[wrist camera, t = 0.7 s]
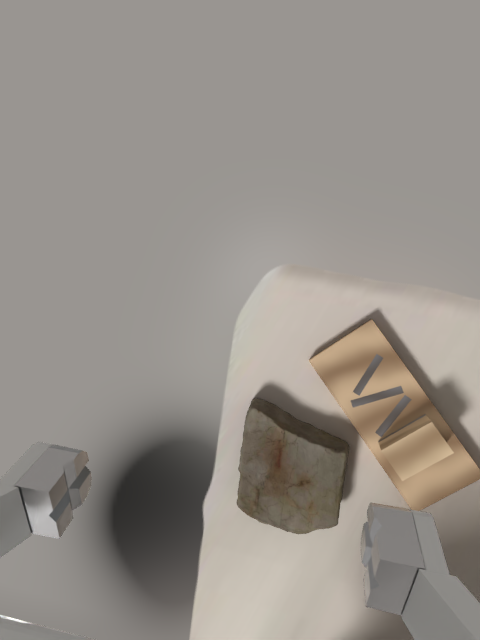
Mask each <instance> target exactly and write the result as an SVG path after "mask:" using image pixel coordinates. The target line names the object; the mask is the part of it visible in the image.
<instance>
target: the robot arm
mask: <svg viewBox="0 0 480 640" xmlns="http://www.w3.org/2000/svg"><path fill="white" fill-rule="evenodd" d="M88 461H89V459H88V454H87V452H85V451H82V450H77V449H73V448H68V447H63V446H59V445H53V444H48V443H43V442H37V443H35V444H33V445H32V446H31V447H30V448H29V449H28V450H27V451H26V452H25V453H24V454H23V456H22V457H21V458H20V459H19V460H18V461H17V462H16V463H15V464H14V465H13V466H12V467H11V468H10V469H9V470H8V471H7V472H6V474H5V475H4V476H3V477H2V478H1V479H0V558H1V557H2V556H4V555H5V554H6V553H8V552H9V551H10V550H12V549H13V548H15V547H16V546H17V545H19V544H20V543H22V542H23V541H24V540H26V539H27V538H29V537H30V536H31V535H32V534H37V535H42V536H48V537H53V538H59V539H60V537H61V536H62V534H63V533H64V531H65V530H66V528H67V527H68V525H69V524H70V522H71V521H72V519H73V510H74V509H76V508H77V507H79V506H81V505H82V504H83V502H84V501H85V499H86V497H87V495H88V493H89V490H90V487H91V480H92V477H91V471H90V470H89V469H88V468H87V467H86V466H85V465H86V464H87V462H88ZM367 518H368V522H366V523H364V526H363V530H362V537H361V558H362V563H363V565H364V566H365V567H366V571H365V575H364V579H363V582H364V592H365V603H366V607H369V608H373V609H377V610H381V611H385V612H389V613H393V614H397V615H401V616H402V617H401V618H402V620H403V621H404V623H405V625H406V626H407V628H408V630H409V631H410V633H411V635H412V636H413V638H414V640H480V603H479V601H478V600H477V599H476V598H475V597H474V596H473V595H472V593H471V592H470V591H469V590H468V589H467V588H466V587H465V585H464V584H463V583H462V582H461V581H460V580H459V579H458V577H457V576H452V575H450V573H449V569H448V566H447V562H446V559H445V556H444V552H443V549H442V545H441V542H440V538H439V535H438V531H437V528H436V525H435V521H434V518H433V516H432V515H431V513H427V512H421V511H416V510H409V509H406V508H400V507H394V506H388V505H382V504H376V503H370V504H369V506H368V510H367ZM31 533H32V534H31ZM0 640H95V639H92V638H88V637H84V636H80V635H76V634H72V633H68V632H64V631H61V630H57V629H53V628H49V627H45V626H41V625H38V624H34V623H30V622H26V621H22V620H18V619H14V618H10V617H7V616H3V615H0Z"/></svg>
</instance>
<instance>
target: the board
mask: <svg viewBox="0 0 480 640" xmlns="http://www.w3.org/2000/svg"><path fill="white" fill-rule="evenodd" d="M309 362H310V363H311V365H312V366H313V367H314V369H315V370H316V372H317V373H318V375H319V376H320V378H321V379H322V380H323V382H324V383H325V385H326V386H327V388H328V389H329V391H330V392H331V394H332V395H333V396H334V398H335V399H336V401H337V402H338V404H339V405H340V407H341V408H342V409H343V411H344V412H345V414H346V415H347V417H348V418H349V420H350V421H351V423H352V424H353V425H354V427H355V428H356V430H357V431H358V433H359V434H360V436H361V437H362V438H363V440H364V441H365V443H366V444H367V446H368V447H369V449H370V450H371V452H372V453H373V454H374V456H375V457H376V459H377V460H378V462H379V463H380V465H381V466H382V467H383V469H384V470H385V472H386V473H387V475H388V476H389V478H390V479H391V481H392V482H393V483H394V485H395V486H396V488H397V489H398V491H399V492H400V494H401V495H402V496H403V498H404V499H405V501H406V502H407V504H408V505H409V507H410V508H411V510H416V511H420V510H422V509H424V508H426V507H428V506H429V505H431V504H433V503H435V502H437V501H439V500H441V499H443V498H445V497H447V496H449V495H450V494H452V493H454V492H456V491H458V490H460V489H462V488H464V487H466V486H468V485H470V484H472V483H473V482H475V481H477V480H479V479H480V469H479V468H478V466H477V465H476V464H475V462H474V461H473V459H472V458H471V457H470V455H469V454H468V452H467V451H466V450H465V448H464V447H463V445H462V444H461V443H460V441H459V440H458V438H457V437H456V436H455V434H454V433H453V431H452V430H451V429H450V427H449V426H448V425H447V423H446V422H445V420H444V419H443V418H442V416H441V415H440V413H439V412H438V411H437V409H436V408H435V406H434V405H433V404H432V402H431V401H430V399H429V398H428V397H427V395H426V394H425V392H424V391H423V390H422V388H421V387H420V386H419V384H418V383H417V381H416V380H415V379H414V377H413V376H412V374H411V373H410V372H409V370H408V369H407V367H406V366H405V365H404V363H403V362H402V360H401V359H400V358H399V356H398V355H397V353H396V352H395V351H394V349H393V348H392V346H391V345H390V344H389V342H388V341H387V340H386V338H385V337H384V335H383V334H382V333H381V331H380V330H379V328H378V327H377V326H376V324H375V323H374V321H373V320H372V319H370V320H369V321H367V322H366V323H364V324H363V325H361V326H360V327H358V328H357V329H355V330H354V331H352V332H351V333H349V334H347V335H346V336H344V337H343V338H341V339H340V340H338V341H337V342H335V343H334V344H332V345H331V346H329V347H328V348H326V349H324V350H323V351H321V352H320V353H318V354H317V355H315V356H314V357H312V358H311V359H309ZM424 414H426V416H427V417H428V418H429V419H430V420H431V421H432V423H433V424H434V426H435V427H436V428H437V430H438V431H439V433H440V434H441V435H442V437H443V438H444V440H445V441H446V442H447V444H448V445H449V447H450V448H451V449H452V451H453V452H454V453H453V454H451V455H449V456H448V457H446V458H444V459H442V460H440V461H438V462H437V463H435V464H433V465H431V466H429V467H427V468H426V469H424V470H422V471H420V472H418V473H416V474H415V475H413V476H411V477H409V478H407V479H405V480H404V481H402V480H401V478H400V477H399V476H398V474H397V473H396V471H395V470H394V468H393V467H392V465H391V464H390V463H389V461H388V460H387V458H386V457H385V455H384V454H383V453H382V451H381V449H380V446H379V443H378V441H379V440H381V439H383V438H384V437H386V436H388V435H390V434H391V433H393V432H395V431H397V430H398V429H400V428H402V427H404V426H405V425H407V424H409V423H410V422H412V421H414V420H416V419H417V418H419V417H421V416H423V415H424Z"/></svg>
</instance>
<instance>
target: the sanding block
mask: <svg viewBox="0 0 480 640" xmlns="http://www.w3.org/2000/svg"><path fill="white" fill-rule="evenodd" d="M378 443H379V446H380V449H381V451H382V453H383V454H384V455H385V457H386V458H387V460H388V461H389V463H390V464H391V465H392V467H393V468H394V470H395V471H396V473H397V474H398V476H399V477H400V478H401V480H402V481H404V480H405V479H407V478H409V477H411V476H413V475H415V474H416V473H418V472H420V471H422V470H424V469H426V468H427V467H429V466H431V465H433V464H435V463H437V462H438V461H440V460H442V459H444V458H446V457H448V456H449V455H451V454H453V453H454V452H453V451H452V449H451V448H450V447H449V445H448V444H447V442H446V441H445V440H444V438H443V437H442V435H441V434H440V433H439V431H438V430H437V428H436V427H435V426H434V424H433V423H432V421H431V420H430V419H429V418H428V417H427V416H426V414H424V415H423V416H421V417H419V418H417V419H416V420H414V421H412V422H410V423H409V424H407V425H405V426H404V427H402V428H400V429H398V430H397V431H395V432H393V433H391V434H390V435H388V436H386V437H384V438H383V439H381V440H379V441H378Z"/></svg>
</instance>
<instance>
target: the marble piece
mask: <svg viewBox="0 0 480 640" xmlns="http://www.w3.org/2000/svg"><path fill="white" fill-rule="evenodd" d="M348 453H349V445H348V444H347V442H345V441H343V440H341V439H339V438H337V437H334V436H331V435H330V434H328V433H326V432H325V431H323V430H320V429H317V428H315V427H313V426H312V425H310V424H307V423H304V422H301V421H299V420H297V419H296V418H294V417H292V416H291V415H290V414H289V413H287V412H285V411H283V410H282V409H280V408H278V407H277V406H276V405H274V404H272V403H269V402H267V401H264V400H261V399H253V400H252V401H251V405H250V407H249V410H248V412H247V415H246V420H245V425H244V432H243V443H242V447H241V456H240V464H239V468H238V469H239V472H240V481H239V488H238V499H237V505H238V507H239V508H240V509H241V510H242V511H243V512H245V513H246V514H247V515H248V516H250V517H252V518H254V519H256V520H258V521H259V522H261V523H264V524H270V525H272V526H274V527H277V528H280V529H282V530H285V531H287V532H292V533H296V534H303V533H304V534H306V533H309V532H311V531H314V530H317V529H325V528H332V527H334V526H336V525H337V524H338V518H339V509H340V502H341V499H342V492H343V484H344V478H345V472H346V465H347V459H348Z"/></svg>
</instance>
